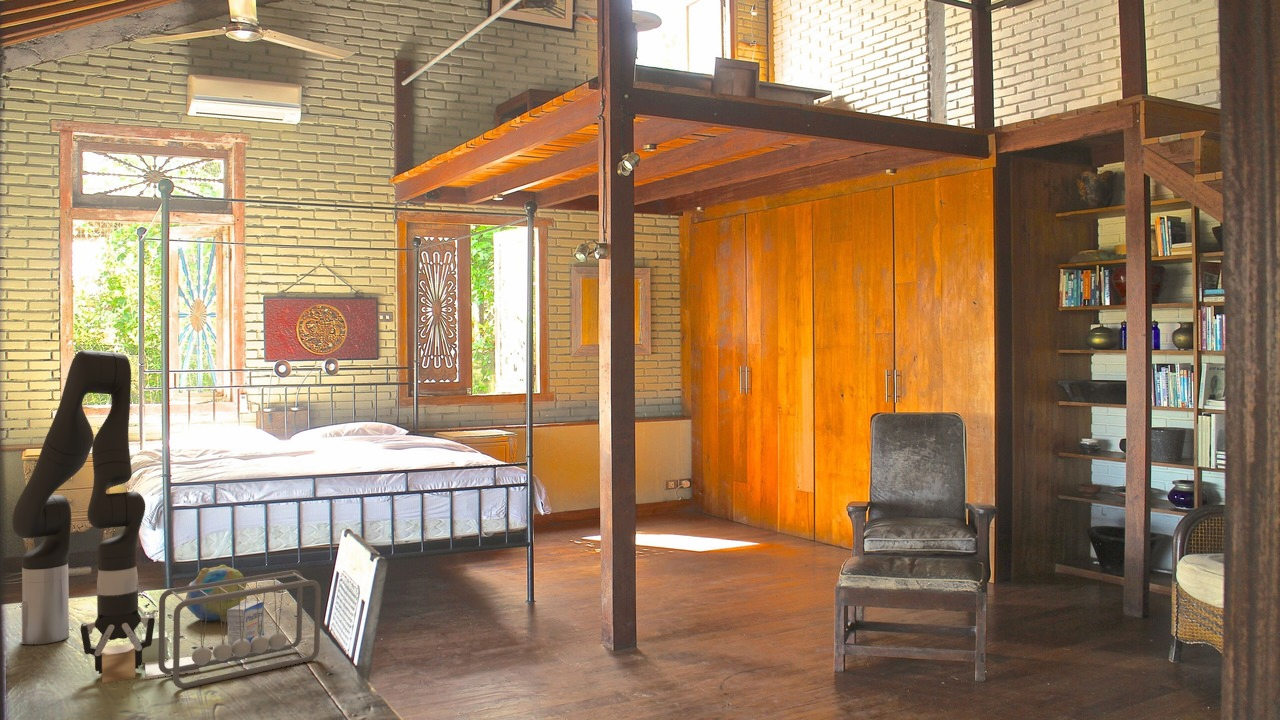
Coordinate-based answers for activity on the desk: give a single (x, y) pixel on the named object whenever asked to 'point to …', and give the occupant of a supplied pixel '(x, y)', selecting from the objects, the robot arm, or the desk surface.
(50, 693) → the desk surface
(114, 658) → the oak block
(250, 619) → the medicine box
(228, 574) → the globe ball
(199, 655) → the newton's cradle
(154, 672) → the board
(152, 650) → the sage block
